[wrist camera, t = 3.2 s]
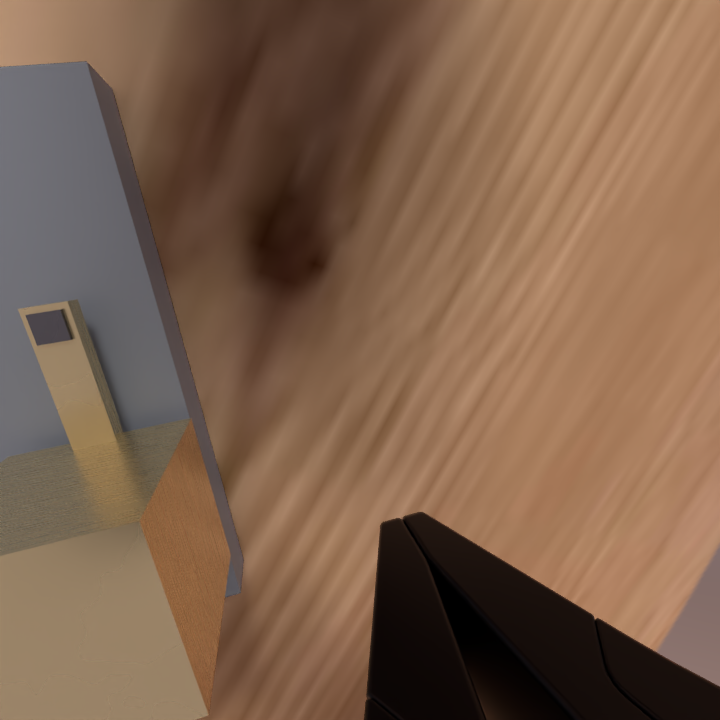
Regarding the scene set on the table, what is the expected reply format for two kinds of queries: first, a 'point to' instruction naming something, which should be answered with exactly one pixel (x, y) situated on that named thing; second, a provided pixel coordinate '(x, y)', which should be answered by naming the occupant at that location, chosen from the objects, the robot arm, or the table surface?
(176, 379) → the hole plate
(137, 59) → the table surface
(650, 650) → the robot arm
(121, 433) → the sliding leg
